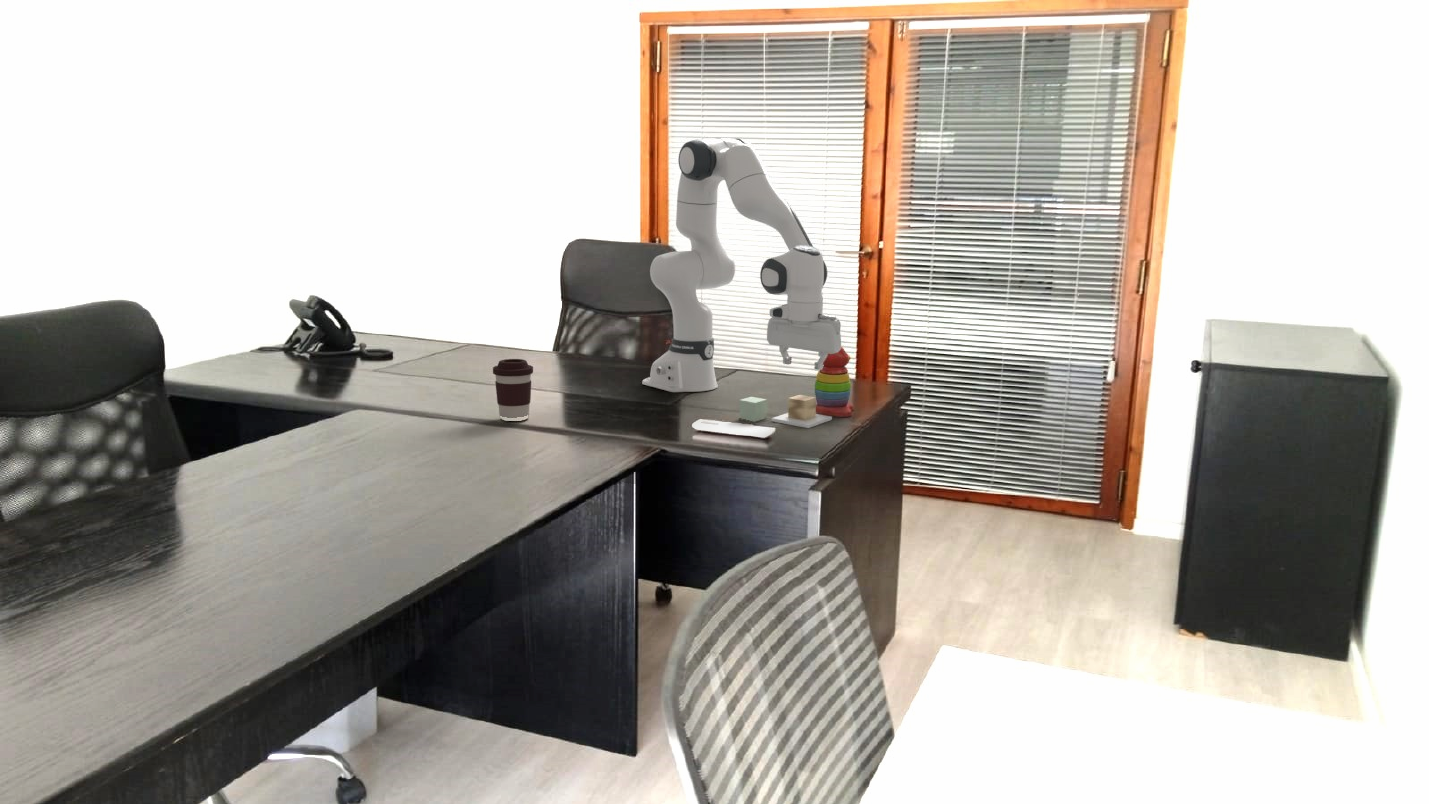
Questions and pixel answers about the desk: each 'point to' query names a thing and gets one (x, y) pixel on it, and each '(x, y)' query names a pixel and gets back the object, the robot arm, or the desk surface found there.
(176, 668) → the desk surface
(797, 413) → the oak block
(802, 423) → the plate
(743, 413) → the sage block
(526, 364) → the coffee cup
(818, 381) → the stacking bear
